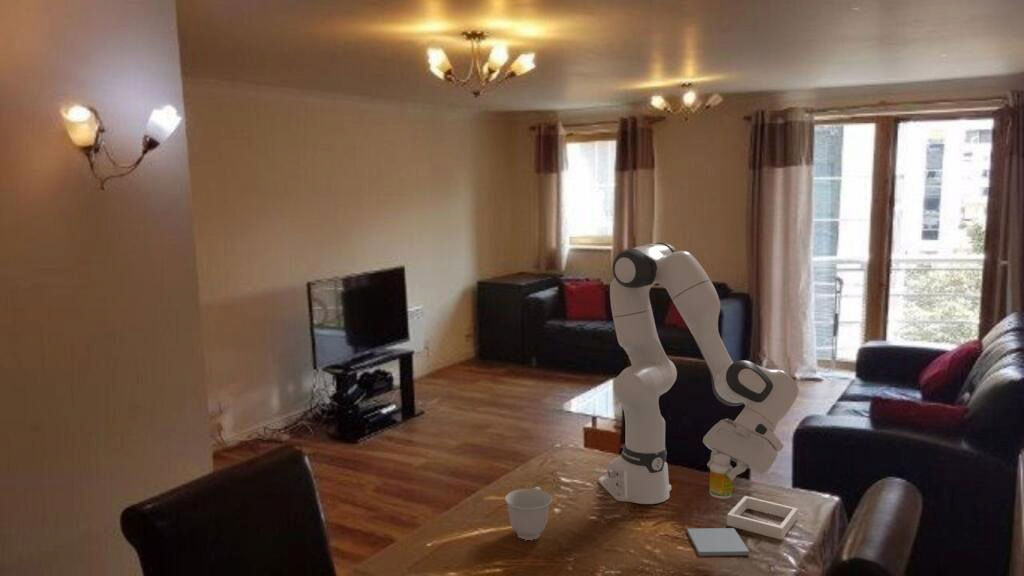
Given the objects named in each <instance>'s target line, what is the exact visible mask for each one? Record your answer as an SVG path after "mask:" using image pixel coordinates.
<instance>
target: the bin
mask: <svg viewBox="0 0 1024 576" xmlns="http://www.w3.org/2000/svg"><path fill="white" fill-rule="evenodd" d="M747 509H749V510H753V511H757V512H761V513H764V514H768V513H769V514H768V515H772V514H773V515H772V516H776V515H777V517H780V518H783V521H782V522H781V523H780V525H778V524H777V525H776V524H773V523H769V522H765V521H761V520H758V519H754V518H751V517H750V518H749V517H746V516H742V515H743V513H744V512H745V511H746V510H747ZM798 509H799V508H797V507H793V506H790V505H786V504H785V505H784V504H780V503H777V502H773V501H772V502H771V501H769V500H765V499H760V498H755V497H751V496H747V495H744V496H743V497H742V498H741V499H740V500H739V501H738V502H737V504H736V505H735V506H733V508H731V509H730V511H729V512H728V513H727V514H726V515H727V517H726V526H729V527H731V528H734V529H735V528H736V529H740V530H744V531H748V532H752V533H754V534H758V535H762V536H767V537H770V538H774V539H776V540H780V541H781V540H783V539H784V538H785V536H786V535H787V534H788V532H789V531H790V530H791V528H792V527H793V526H794V525H795V523H796V522H797V520H798V513H799V510H798Z"/></svg>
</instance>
